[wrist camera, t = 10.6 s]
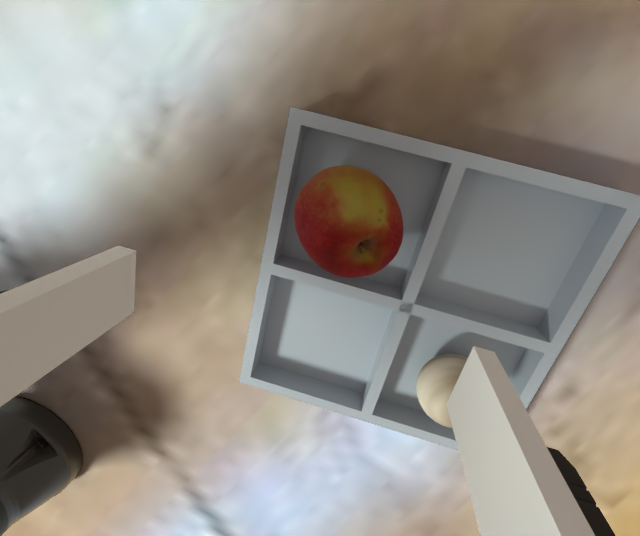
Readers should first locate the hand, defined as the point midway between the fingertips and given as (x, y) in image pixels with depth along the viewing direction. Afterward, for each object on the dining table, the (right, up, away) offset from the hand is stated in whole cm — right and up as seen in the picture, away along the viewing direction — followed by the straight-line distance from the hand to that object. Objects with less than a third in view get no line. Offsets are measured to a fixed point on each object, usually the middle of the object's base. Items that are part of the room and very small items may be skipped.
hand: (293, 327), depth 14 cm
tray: (+9, 0, +19) cm, 21 cm away
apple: (+4, +7, +16) cm, 18 cm away
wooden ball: (+13, -7, +20) cm, 24 cm away
